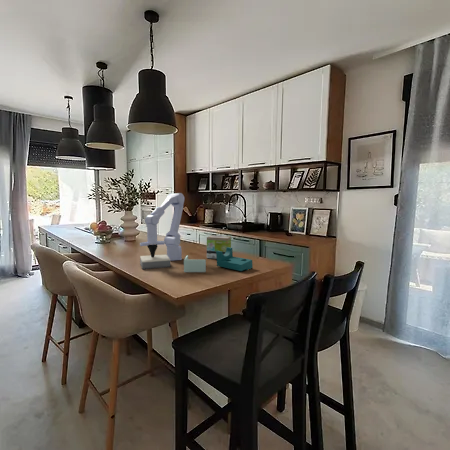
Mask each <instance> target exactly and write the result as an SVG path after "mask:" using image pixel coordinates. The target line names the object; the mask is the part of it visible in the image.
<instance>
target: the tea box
mask: <svg viewBox="0 0 450 450" xmlns="http://www.w3.org/2000/svg"><path fill="white" fill-rule="evenodd" d="M227 247H230V248H232V236H228V235H209V236H207V237H206V259H216V260H217V257H216V251H222V252H223V255H224V254H225V252H226V248H227Z"/></svg>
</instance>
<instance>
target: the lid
mask: <svg viewBox="0 0 450 450" xmlns="http://www.w3.org/2000/svg"><path fill="white" fill-rule="evenodd" d="M139 258H141V261H142V262H155V261H168V260H170V258H169V257H168V256H167V253H165V254H155V255H154V257H151V254H150V255H139Z"/></svg>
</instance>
